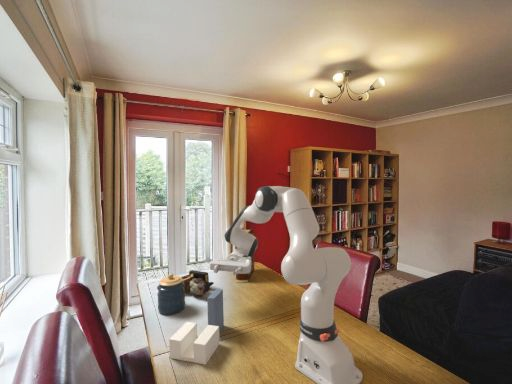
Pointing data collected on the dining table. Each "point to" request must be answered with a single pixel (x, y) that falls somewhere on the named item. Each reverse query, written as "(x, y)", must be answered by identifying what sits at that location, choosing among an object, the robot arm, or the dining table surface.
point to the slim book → (215, 309)
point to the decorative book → (246, 276)
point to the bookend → (197, 283)
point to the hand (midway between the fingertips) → (224, 272)
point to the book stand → (194, 343)
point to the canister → (171, 295)
